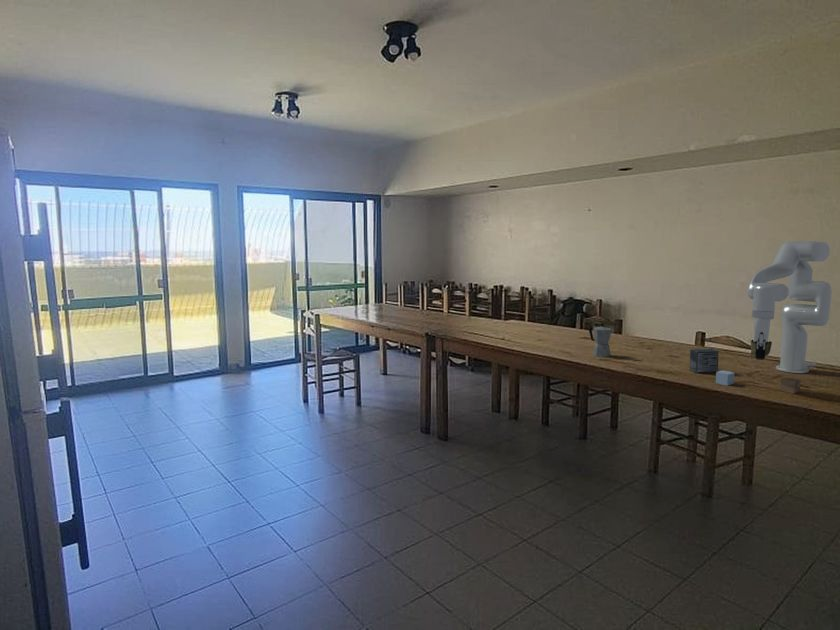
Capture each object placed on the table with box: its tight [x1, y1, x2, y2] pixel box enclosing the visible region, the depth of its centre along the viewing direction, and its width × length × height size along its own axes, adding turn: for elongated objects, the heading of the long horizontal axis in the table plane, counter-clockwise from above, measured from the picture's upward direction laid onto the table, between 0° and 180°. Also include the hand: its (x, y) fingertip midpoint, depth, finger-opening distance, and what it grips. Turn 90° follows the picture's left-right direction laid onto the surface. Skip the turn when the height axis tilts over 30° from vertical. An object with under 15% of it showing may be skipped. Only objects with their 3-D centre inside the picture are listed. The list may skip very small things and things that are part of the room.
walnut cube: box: [779, 376, 801, 394], centre depth 208 cm, size 5×5×5 cm
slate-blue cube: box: [715, 369, 736, 386], centre depth 221 cm, size 5×5×5 cm
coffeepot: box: [588, 322, 614, 358], centre depth 280 cm, size 15×9×18 cm, turn 33°
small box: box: [689, 348, 719, 374], centre depth 241 cm, size 11×6×10 cm, turn 92°
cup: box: [750, 339, 773, 361], centre depth 213 cm, size 8×7×8 cm
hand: (760, 356), depth 213 cm, fingers closed on cup, 6 cm apart
